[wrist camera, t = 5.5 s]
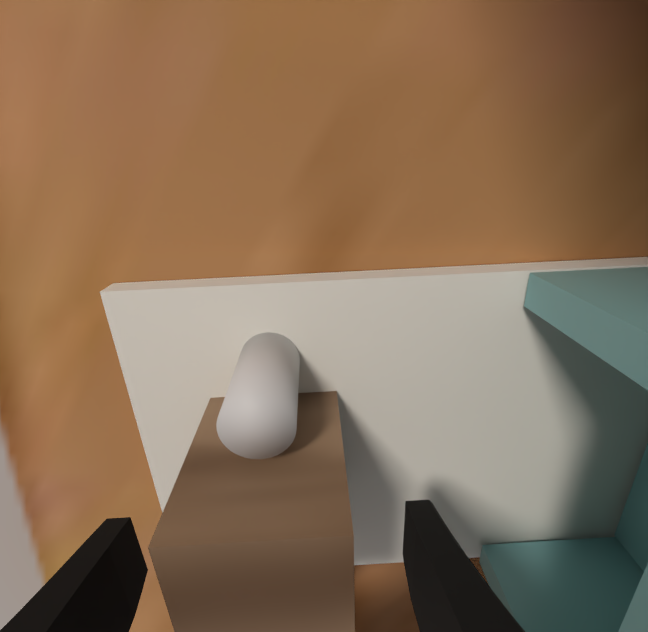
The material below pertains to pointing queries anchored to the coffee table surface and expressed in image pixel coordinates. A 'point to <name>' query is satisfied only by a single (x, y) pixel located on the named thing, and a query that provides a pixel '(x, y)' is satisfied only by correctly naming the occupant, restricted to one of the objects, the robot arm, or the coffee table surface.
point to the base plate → (395, 394)
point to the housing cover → (644, 498)
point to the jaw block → (260, 532)
